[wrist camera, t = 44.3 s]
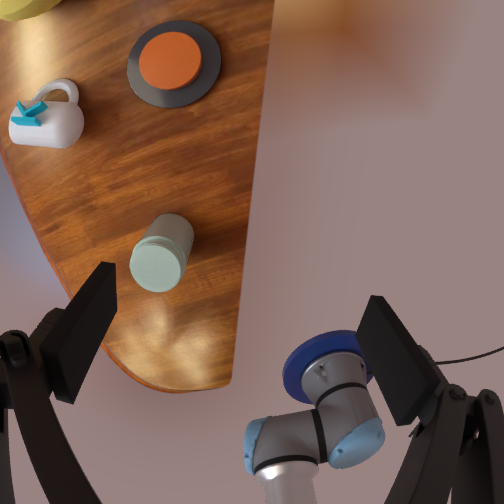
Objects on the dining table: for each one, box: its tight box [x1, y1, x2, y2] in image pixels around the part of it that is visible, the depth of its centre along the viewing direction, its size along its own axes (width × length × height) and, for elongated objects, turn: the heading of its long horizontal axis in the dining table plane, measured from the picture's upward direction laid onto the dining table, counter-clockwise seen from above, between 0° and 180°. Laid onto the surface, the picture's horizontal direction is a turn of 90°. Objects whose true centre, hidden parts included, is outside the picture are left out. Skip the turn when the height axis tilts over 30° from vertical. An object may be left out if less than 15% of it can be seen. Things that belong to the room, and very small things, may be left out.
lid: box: [139, 32, 202, 90], centre depth 38 cm, size 9×9×2 cm
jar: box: [130, 213, 194, 292], centre depth 45 cm, size 8×8×12 cm
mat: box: [127, 21, 221, 108], centre depth 39 cm, size 14×14×1 cm
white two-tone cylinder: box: [9, 79, 84, 149], centre depth 37 cm, size 12×9×12 cm
